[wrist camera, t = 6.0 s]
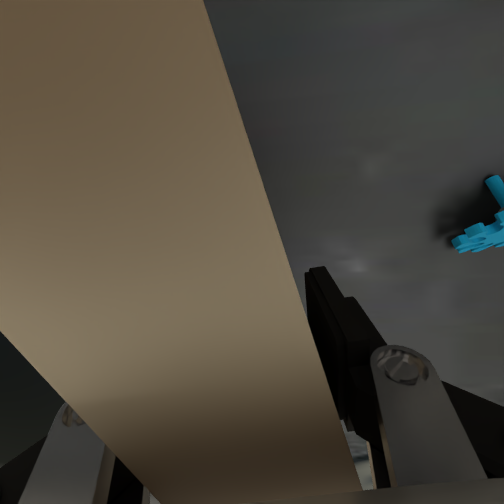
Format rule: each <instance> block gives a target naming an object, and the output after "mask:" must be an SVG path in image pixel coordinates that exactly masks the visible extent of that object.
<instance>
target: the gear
mask: <svg viewBox="0 0 504 504" xmlns="http://www.w3.org/2000/svg"><path fill="white" fill-rule="evenodd" d="M485 183H486V184H487V186H488V187H489V189H490V191H491V192H492V194H493V195H494V197H495V199H496V200H497V202H498V203H499V205H500V207H501V209H500V210H499V211H498V213H496V214H495V215H494V216H495V218H496V219H497V221H496V222H494V223H492V224H490V225H487V226H484V224H483V223H477V224H475V225H473V226H471V227H469V228H467V229H465V230H464V231H465V233H466V234H467V235H466V234H465V235H460V236H457V237H456V238H454V239H453V240H452V241H451V242H452V244H453V246H454V247H455V249H457V250H458V252H459V253H462V252H466V251H468V250H471V251H472V252H478V251H481V250H484V249H486V248H488V247H490V246H492V245H494V246H495V247H500V246H504V183H503V181H502V180H501V178H500V177H499V175H495V176H492V177H490V178H488V179H487V180H486V181H485Z"/></svg>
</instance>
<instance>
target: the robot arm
mask: <svg viewBox="0 0 504 504" xmlns="http://www.w3.org/2000/svg"><path fill="white" fill-rule="evenodd" d="M305 289H306V303H307V317H308V324H309V327H310V330H311V333H312V336H313V339H314V342H315V345H316V348H317V352H318V355H319V358H320V361H321V364H322V367H323V370H324V373H325V376H326V379H327V382H328V385H329V388H330V391H331V394H332V398H333V401H334V404H335V407H336V410H337V413H338V416H339V419H340V420H344V423H345V425H346V428H347V431H348V432H349V431H355V433H356V434H357V435H359V436H360V437H362V438H363V439H365V440H366V441H367V448H368V455H369V461H370V468H371V474H372V481H373V487H374V489H373V490H365V491H354V492H344V493H335V494H325V495H316V496H306V497H297V498H287V499H278V500H269V501H260V502H251V503H242V504H504V407H503V406H500V405H498V404H495V403H493V402H491V401H488V400H486V399H484V398H481V397H479V396H477V395H474V394H472V393H470V392H467V391H465V390H462V389H460V388H458V387H455V386H453V385H451V384H448V383H446V382H444V381H441V380H440V378H439V376H438V374H437V372H436V370H435V368H434V366H433V365H432V364H431V362H430V361H429V360H428V359H427V358H426V357H425V356H423V355H422V354H420V353H419V352H417V351H415V350H413V349H410V348H407V347H404V346H399V345H387V344H386V342H385V341H384V339H383V338H382V336H381V335H380V334H379V332H378V331H377V329H376V328H375V326H374V325H373V323H372V322H371V321H370V319H369V318H368V316H367V315H366V313H365V312H364V310H363V309H362V308H361V306H360V305H359V303H358V302H357V300H356V299H355V298H354V297H345V298H344V296H343V295H342V293H341V291H340V290H339V288H338V287H337V285H336V283H335V282H334V280H333V279H332V277H331V275H330V274H329V272H328V271H327V269H326V267H325V266H322V267H314V268H310V269H309V272H305ZM0 504H150V492H149V490H148V489H147V488H146V487H145V486H144V485H143V484H142V483H141V482H140V481H139V480H138V479H137V478H136V476H135V475H134V474H133V473H132V472H131V471H130V470H129V469H128V468H127V467H126V466H125V465H124V464H123V462H122V461H121V460H120V459H119V458H118V457H117V456H116V455H115V454H114V453H113V452H112V451H111V450H110V448H109V447H108V446H107V445H106V444H105V443H104V442H103V441H102V440H101V439H100V438H99V437H98V436H97V434H96V433H95V432H94V431H93V430H92V429H91V428H90V427H89V426H88V425H87V424H86V423H85V421H84V420H83V419H82V418H81V417H80V416H79V415H78V414H77V413H76V412H75V411H74V410H73V409H72V407H71V406H70V405H69V404H68V403H67V402H65V404H64V405H63V406H62V407H61V409H60V410H59V412H58V413H57V415H56V418H55V420H54V422H53V424H52V427H51V429H50V431H49V434H48V435H47V436H46V437H44V438H43V439H41V440H40V441H38V442H37V443H35V444H34V445H33V446H31V447H30V448H28V449H27V450H25V451H24V452H22V453H21V454H20V455H18V456H17V457H15V458H14V459H12V460H11V461H10V462H8V463H7V464H5V465H4V466H2V467H1V468H0Z"/></svg>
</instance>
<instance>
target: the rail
mask: <svg viewBox="0 0 504 504" xmlns="http://www.w3.org/2000/svg"><path fill="white" fill-rule="evenodd" d="M0 331H1V332H2V333H3V334H4V335H5V336H6V337H7V339H9V341H10V342H11V343H12V344H13V345H14V346H15V347H16V348H17V349H18V350H19V351H20V353H22V355H23V356H24V357H25V358H26V359H27V360H28V361H29V362H30V363H31V364H32V365H33V367H34V368H35V369H36V370H37V371H38V372H39V373H40V374H41V375H42V376H43V377H44V378H45V379H46V381H47V382H48V383H49V384H50V385H51V386H52V387H53V388H54V389H55V390H56V391H57V392H58V393H59V394H60V396H61V397H62V398H63V399H64V400H65V401H66V402H67V403H68V404H69V405H70V406H71V407H72V409H73V410H74V411H75V412H76V413H77V414H78V415H79V416H80V417H81V418H82V419H83V420H84V421H85V423H86V424H87V425H88V426H89V427H90V428H91V429H92V430H93V431H94V432H95V433H96V434H97V436H98V437H99V438H100V439H101V440H102V441H103V442H104V443H105V444H106V445H107V446H108V447H109V448H110V450H111V451H112V452H113V453H114V454H115V455H116V456H117V457H118V458H119V459H120V460H121V461H122V462H123V464H124V465H125V466H126V467H127V468H128V469H129V470H130V471H131V472H132V473H133V474H134V475H135V476H136V478H137V479H138V480H139V481H140V482H141V483H142V484H143V485H144V486H145V487H146V488H147V489H148V490H149V492H150V493H151V494H152V495H153V496H154V497H155V498H156V499H157V500H158V501H159V502H160V503H161V504H242V503H251V502H260V501H269V500H278V499H287V498H297V497H306V496H316V495H325V494H335V493H344V492H354V491H363V490H362V486H361V483H360V480H359V477H358V474H357V471H356V468H355V465H354V462H353V459H352V456H351V453H350V450H349V447H348V443H347V440H346V437H345V434H344V431H343V428H342V425H341V422H340V419H339V416H338V413H337V410H336V407H335V404H334V401H333V398H332V394H331V391H330V388H329V385H328V382H327V379H326V376H325V373H324V370H323V367H322V364H321V361H320V358H319V355H318V352H317V348H316V345H315V342H314V339H313V336H312V333H311V330H310V327H309V324H308V321H307V318H306V315H305V312H304V309H303V306H302V302H301V299H300V296H299V293H298V290H297V287H296V284H295V281H294V278H293V275H292V272H291V269H290V266H289V263H288V260H287V256H286V253H285V250H284V247H283V244H282V241H281V238H280V235H279V232H278V229H277V226H276V223H275V220H274V217H273V214H272V210H271V207H270V204H269V201H268V198H267V195H266V192H265V189H264V186H263V183H262V180H261V177H260V174H259V171H258V168H257V164H256V161H255V158H254V155H253V152H252V149H251V146H250V143H249V140H248V137H247V134H246V131H245V128H244V125H243V122H242V119H241V115H240V112H239V109H238V106H237V103H236V100H235V97H234V94H233V91H232V88H231V85H230V82H229V79H228V76H227V73H226V69H225V66H224V63H223V60H222V57H221V54H220V51H219V48H218V45H217V42H216V39H215V36H214V33H213V30H212V27H211V23H210V20H209V17H208V14H207V11H206V8H205V5H204V2H203V0H0Z"/></svg>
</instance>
